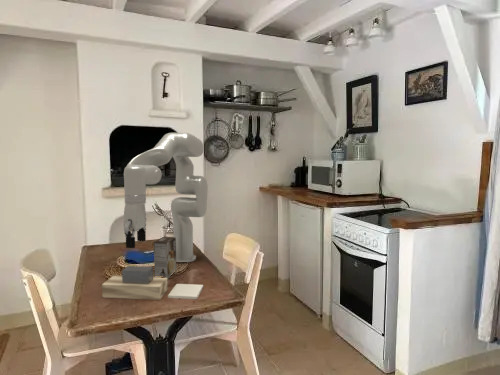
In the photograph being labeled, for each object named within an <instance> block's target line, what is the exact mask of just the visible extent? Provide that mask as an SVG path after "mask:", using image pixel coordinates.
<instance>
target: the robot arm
mask: <svg viewBox="0 0 500 375" xmlns="http://www.w3.org/2000/svg"><path fill="white" fill-rule="evenodd" d="M204 148H205V146H204V144H203V141H202V140H201V139H200V138H198V137H196V136H195V135H194V134H191V133H189V132H168V133H165V134H164V135H163V136H162V137H161V139H159V141H158V142H157V143H156V144H155V146H154V147H152V148H151V149H149V150H146V151H144V152H142V153H140V154H138V155H136V156H135V157H133V158H132V159H131V160H130V161H129V162H128V163H127V165H126V167H124V171H123V180H124V181H123V183H124V191H123V192H124V210H123V231H124V237H125V247H126V249H135V248H136V240H137V242H146V240H147V239H146V238H147V237H146V234H147V233H146V230H147V228H146V226H147V214H146V213H147V212H146V211H147V210H146V204H147V187H146V186H147V185H156V184H158V183H160V181H161V179H162V171H161V169H160V168H159V167H160V166H163V165H167V164H168V163H170V161H171V160H172V159H173V161H174V162H175V169H176V170H175V186H174V187H175V191H176V193H177V194H179V195H185V196H180V197H176V198H173V199H172V201H170V202H171V203H170V210H171V216H172V224H173V225H172V229H173V230H172V231H173V237H175V238H176V262H187V264H188V263H192V262H195V261H196V260H197V255H195V254H194V228H193V227H194V224H193V222H192V219H191V218H203V217H204V216H205V215H206V212H207V206H208V193H209V191H208V186H209V184H208V181H207V179H206V177H205V176H202V175H194V173H195V172H194V170H195V169H194V168H195V166H194V164H193V162H192V160H191V159H190V158H198V157H201V156H202V155H203V153H204ZM186 195H188V196H186ZM189 195H190V196H191V195H192V196H195V197H189ZM135 235H137V236H136V237H135Z"/></svg>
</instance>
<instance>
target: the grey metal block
mask: <svg viewBox="0 0 500 375" xmlns="http://www.w3.org/2000/svg"><path fill="white" fill-rule="evenodd" d="M121 276H122V281H123V283H130V284H149V283H150V282H151V281H152V280H153V277H154V266H145V265H144V266H139V265H127V266H126V267H124V268H123V269H122V270H121Z"/></svg>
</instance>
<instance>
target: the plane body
mask: <svg viewBox="0 0 500 375" xmlns="http://www.w3.org/2000/svg"><path fill="white" fill-rule="evenodd" d="M168 284H169V283H168V279H167V278H161V277H155V276H153V280H152V281H151V282H150V283H149V284H130V283H123V281H122V275H112V276H111V277H109V279H107V280H106V281H104V283H102V284H101V289H102V290H101V291H102V294H101V295H102V298H106V299H107V298H110V299H111V298H112V299H127V300H129V299H131V300H153V301H161V299H162V298H163V297H164V295H165V294H166V292H167V291H168V286H169V285H168Z"/></svg>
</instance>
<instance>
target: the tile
mask: <svg viewBox="0 0 500 375" xmlns="http://www.w3.org/2000/svg"><path fill="white" fill-rule="evenodd" d="M203 289H204V284H192V283H191V284H189V283H176V284H175V285H174V287H173V288H172V290H171V291H170V292H169V294H168V295H167V298H168V299H179V298H180V300H182V299H184V300H197V299H199V296H200V294H201V293H202V291H203Z"/></svg>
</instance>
